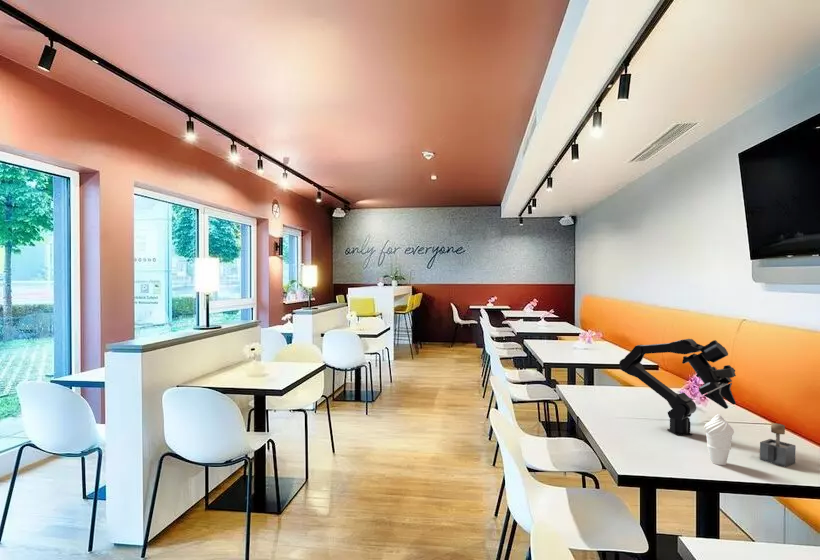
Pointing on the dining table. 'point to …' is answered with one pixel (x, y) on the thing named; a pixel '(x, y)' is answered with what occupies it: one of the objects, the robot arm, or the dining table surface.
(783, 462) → the box
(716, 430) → the soft serve ice cream cone
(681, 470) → the dining table surface
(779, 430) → the plunger
